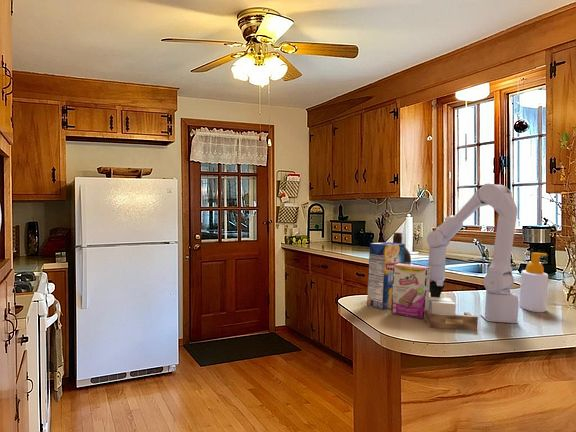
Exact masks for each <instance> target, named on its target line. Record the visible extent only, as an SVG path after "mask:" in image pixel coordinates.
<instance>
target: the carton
mask: <svg viewBox="0 0 576 432" xmlns="http://www.w3.org/2000/svg"><path fill="white" fill-rule="evenodd" d="M428 310H430V311H431V312H432V313H440V314H455V315H456V303H455V302H454V301H453V300H452V299H451V298H450V297H441V296H440V297H431V296H429V305H428Z"/></svg>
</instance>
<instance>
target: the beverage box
mask: <svg viewBox="0 0 576 432" xmlns="http://www.w3.org/2000/svg"><path fill="white" fill-rule="evenodd" d="M405 245H406V244H405V243H402V244H399V243H393V242H392V241H391V242H390V241H387V242H370V243H369V255H368V256H369V257H368V274H367V275H368V277H367V300H366V305H367V306H368V307H372V308H376V309H379V310H387V309H391V305H392V288H393V270H394V265H395V264H398V263H400V264H404V252H405V248H406V246H405Z"/></svg>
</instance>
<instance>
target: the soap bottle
mask: <svg viewBox="0 0 576 432" xmlns="http://www.w3.org/2000/svg"><path fill="white" fill-rule="evenodd" d="M547 255H548V254H547V253H543V252H531V258H530V260H531V261H530V262H529V263H527V264H526V267H525V269H522V270H521V273H520V286H519V287H520V288H519V300H518V301H519V307H520V308H521V309H524V310H526V311H529V312H534V313H544V312H546V310H547V301H548V285H549V284H548V282H549V275H548V273H546V272H544V271H545V270H544V269H545V268H544V266H543V264H542V263H541V262H540V260H541V259H540V258H541V257H547Z"/></svg>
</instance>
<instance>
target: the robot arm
mask: <svg viewBox="0 0 576 432" xmlns="http://www.w3.org/2000/svg"><path fill="white" fill-rule="evenodd" d="M484 206H485V207H486V206H489V207H491V208H492V209H493V210H494V211H495V212H496V213H497V214H498V216H497V224H496V229H495V230H496V231H495V238H494V239H495V240H494V245H493V252H492V253H493V254H492V260H491V261H492V262H491V263H490V265H489V266H488V268H487V273H486V274H485V276H484V277H483V281H482V282H483V286H484V288H485V303H484V304H485V305H484V306H485V307H484V313H481V314H480V316H481V317H482V318H483V319H484V320H486V322H494V323H509V324H519V321H518V320H519V307H520V305H519V301H520V300H519V297H518V294H516V293H511V288H512V287H513V286H514V283H515V279H514V276H513V267H512V265H511V258H512V251H513V245H514V238H515V230H516V223H517V215H518V207H517V204H516V202H515V200H514V198H513V193H512V191H511V190H510V189H509V188H508V187H507V186H505V185H503V184H494V183H485V184H483V185H482V186H481V187H480V188H479V189H477V190H476V191H475V192H474V193H473V195H472V196H471V198H470V199H468V200H467V202H466V203H465V204H464V205H463V206H462V207H461V209H460V210H459V211H458V212H457V213H456V214H455V215H449V216H446V217H444V221H443V222H442V223H441V224H440V225H439V226H436V228H435V229H436V230H432V231H429V232H428V234H427V237H426V242H427V245H428V246H429V247H428V248H429V249H428V266H427V267H431V273H430V288H429V297H440V298H441V295H442V292H443V290H444V288H445V286H446V284H445V283H444V281H445V280H446V273H445V272H446V257H447V256H446V255H447V247H448V245H449V244H450V242H451V239H453V237H455V235H457V234H458V232H459V231H460V230H461V229H462V228H463V227H464V222H465V221H466V220H467V219H468V218H469V217H470V216H472V215H473V214H474V213H475V212H476V211H478V209H479V208H481V207H484Z"/></svg>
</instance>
